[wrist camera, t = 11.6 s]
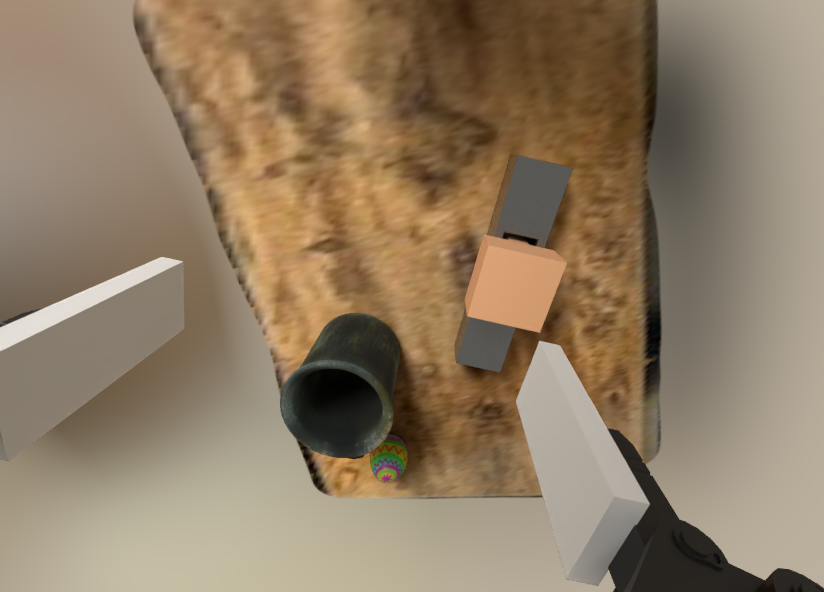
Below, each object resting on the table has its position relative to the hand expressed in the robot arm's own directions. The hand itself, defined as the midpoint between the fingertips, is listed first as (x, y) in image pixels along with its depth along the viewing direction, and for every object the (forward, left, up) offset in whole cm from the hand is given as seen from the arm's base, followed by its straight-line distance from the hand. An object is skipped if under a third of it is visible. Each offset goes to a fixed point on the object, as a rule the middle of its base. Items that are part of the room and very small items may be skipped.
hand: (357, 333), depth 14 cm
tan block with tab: (+4, +11, -28) cm, 30 cm away
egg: (+32, +4, -29) cm, 43 cm away
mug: (+20, -2, -29) cm, 35 cm away
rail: (+4, +11, -29) cm, 31 cm away
